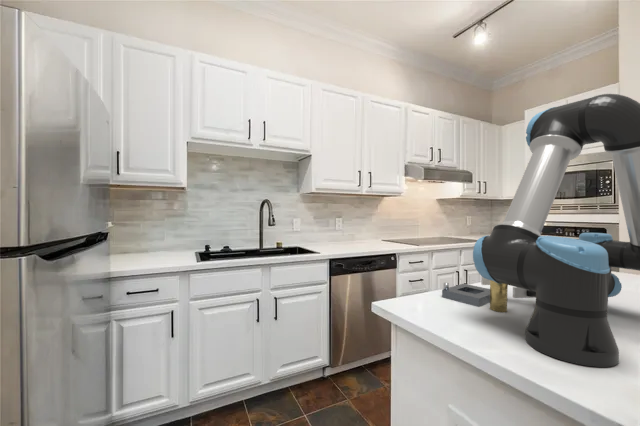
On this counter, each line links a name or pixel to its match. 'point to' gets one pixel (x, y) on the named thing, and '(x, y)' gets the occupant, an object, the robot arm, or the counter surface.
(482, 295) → the jig
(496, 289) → the bushing
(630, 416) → the counter surface
